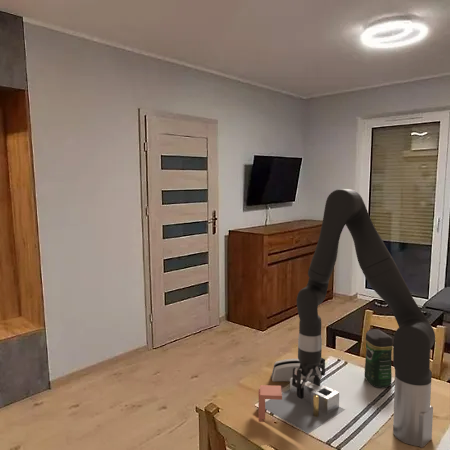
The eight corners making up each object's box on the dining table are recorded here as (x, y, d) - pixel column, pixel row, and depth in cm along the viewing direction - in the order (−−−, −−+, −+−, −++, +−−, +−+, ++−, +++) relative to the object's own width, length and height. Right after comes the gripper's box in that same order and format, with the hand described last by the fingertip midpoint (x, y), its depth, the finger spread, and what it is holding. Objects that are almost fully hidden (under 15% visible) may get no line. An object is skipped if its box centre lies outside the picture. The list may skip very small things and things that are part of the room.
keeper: (280, 411, 126) (280, 385, 125) (281, 422, 120) (282, 395, 119) (258, 410, 127) (258, 385, 126) (258, 421, 121) (258, 395, 120)
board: (344, 411, 125) (344, 409, 125) (307, 436, 113) (308, 433, 113) (296, 388, 140) (296, 385, 140) (259, 407, 128) (259, 405, 128)
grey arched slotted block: (315, 376, 149) (317, 355, 144) (317, 386, 144) (320, 365, 140) (270, 376, 149) (271, 356, 145) (271, 386, 145) (272, 365, 140)
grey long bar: (339, 407, 126) (339, 392, 126) (327, 414, 122) (327, 399, 122) (298, 387, 139) (298, 374, 138) (286, 394, 135) (287, 379, 134)
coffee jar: (395, 387, 140) (397, 336, 138) (374, 389, 139) (375, 337, 137) (381, 374, 149) (382, 326, 147) (361, 376, 148) (362, 327, 146)
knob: (319, 418, 122) (319, 396, 121) (316, 420, 121) (316, 398, 120) (315, 415, 123) (315, 394, 123) (312, 417, 122) (312, 396, 122)
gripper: (305, 356, 122) (304, 406, 124) (332, 343, 131) (331, 390, 133) (286, 348, 128) (285, 396, 130) (313, 337, 137) (312, 381, 139)
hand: (308, 393), depth 132 cm, fingers open, 8 cm apart
